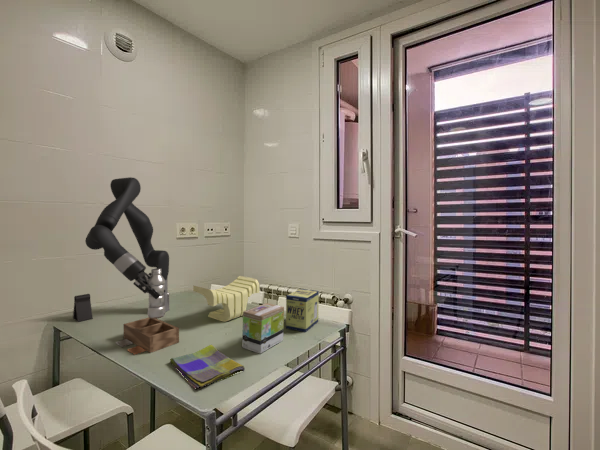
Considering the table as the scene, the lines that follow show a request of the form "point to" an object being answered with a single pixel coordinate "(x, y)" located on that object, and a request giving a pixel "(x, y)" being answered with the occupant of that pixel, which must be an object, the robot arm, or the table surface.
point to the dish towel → (206, 366)
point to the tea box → (262, 327)
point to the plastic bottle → (158, 283)
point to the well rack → (149, 335)
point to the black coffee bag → (82, 308)
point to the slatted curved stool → (230, 297)
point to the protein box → (302, 309)
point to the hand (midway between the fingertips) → (161, 295)
